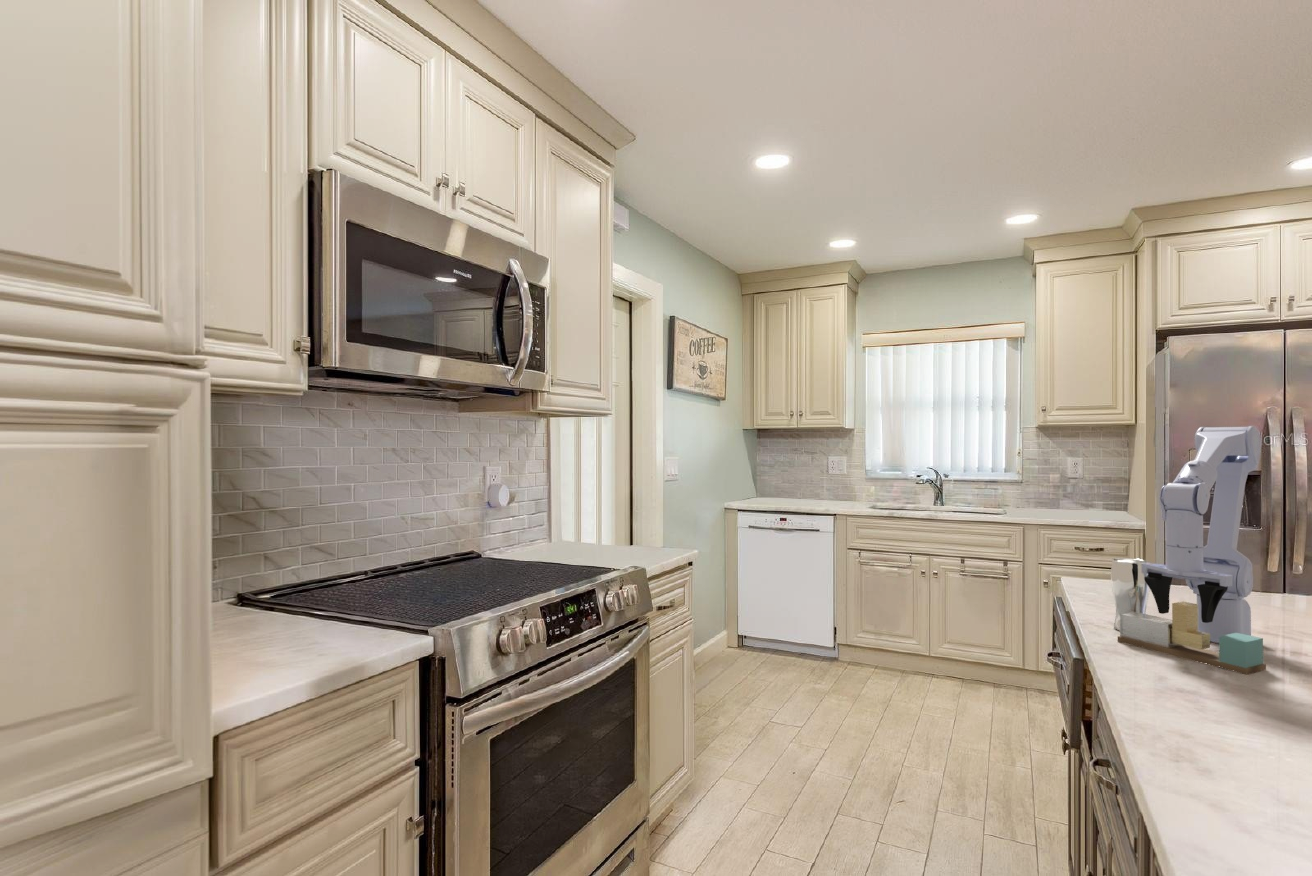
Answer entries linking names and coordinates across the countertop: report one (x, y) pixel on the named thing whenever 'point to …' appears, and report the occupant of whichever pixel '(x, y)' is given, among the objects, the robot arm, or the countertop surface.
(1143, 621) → the white rectangular block
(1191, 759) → the countertop surface
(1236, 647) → the teal rectangular block
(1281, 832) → the countertop surface
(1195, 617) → the wooden l-shaped block
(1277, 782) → the countertop surface
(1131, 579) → the beer glass
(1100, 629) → the countertop surface
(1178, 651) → the board
